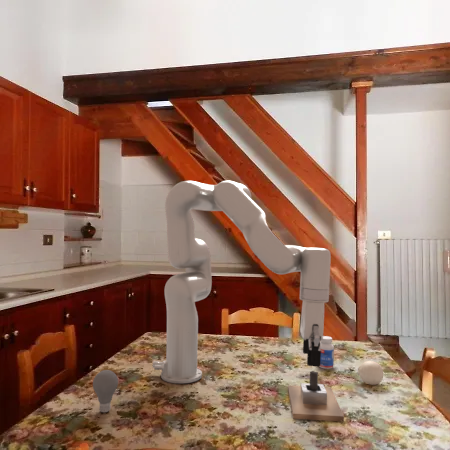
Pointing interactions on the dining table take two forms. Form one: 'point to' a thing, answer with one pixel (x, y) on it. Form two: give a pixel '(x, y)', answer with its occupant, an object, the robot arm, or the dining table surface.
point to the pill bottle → (327, 353)
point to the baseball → (370, 372)
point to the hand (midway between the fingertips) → (311, 359)
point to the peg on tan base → (313, 410)
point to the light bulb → (105, 388)
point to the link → (313, 395)
